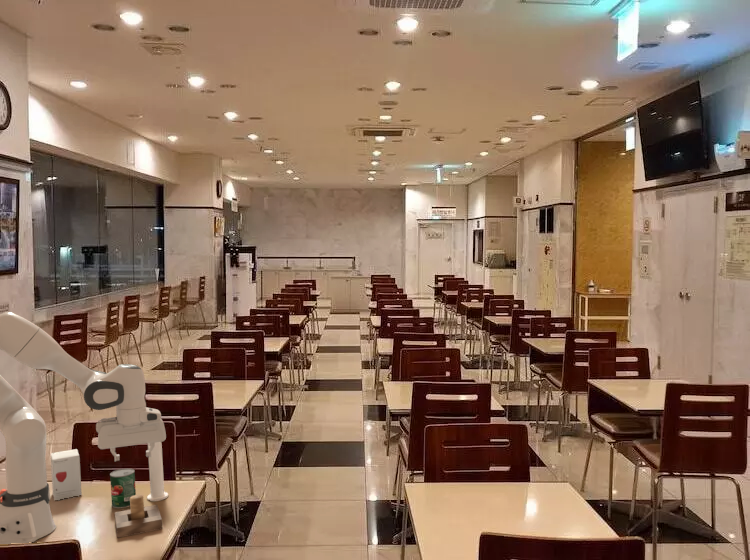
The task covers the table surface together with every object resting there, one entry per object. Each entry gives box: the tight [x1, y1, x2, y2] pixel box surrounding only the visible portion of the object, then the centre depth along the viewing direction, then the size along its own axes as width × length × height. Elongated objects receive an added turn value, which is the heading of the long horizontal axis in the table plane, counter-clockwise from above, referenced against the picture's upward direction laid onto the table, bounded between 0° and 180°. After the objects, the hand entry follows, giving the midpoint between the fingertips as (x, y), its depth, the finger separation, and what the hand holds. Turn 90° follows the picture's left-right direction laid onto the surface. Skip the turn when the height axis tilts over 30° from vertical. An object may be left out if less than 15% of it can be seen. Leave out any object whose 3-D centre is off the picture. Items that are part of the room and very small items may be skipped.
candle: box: [146, 442, 169, 502], centre depth 230 cm, size 7×7×25 cm
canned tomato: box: [109, 468, 137, 509], centre depth 226 cm, size 8×8×11 cm
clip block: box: [114, 504, 163, 538], centre depth 209 cm, size 13×13×3 cm
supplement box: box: [50, 448, 83, 501], centre depth 236 cm, size 9×9×15 cm
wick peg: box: [129, 494, 145, 521], centre depth 209 cm, size 4×4×9 cm
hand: (133, 458), depth 209 cm, fingers open, 8 cm apart
